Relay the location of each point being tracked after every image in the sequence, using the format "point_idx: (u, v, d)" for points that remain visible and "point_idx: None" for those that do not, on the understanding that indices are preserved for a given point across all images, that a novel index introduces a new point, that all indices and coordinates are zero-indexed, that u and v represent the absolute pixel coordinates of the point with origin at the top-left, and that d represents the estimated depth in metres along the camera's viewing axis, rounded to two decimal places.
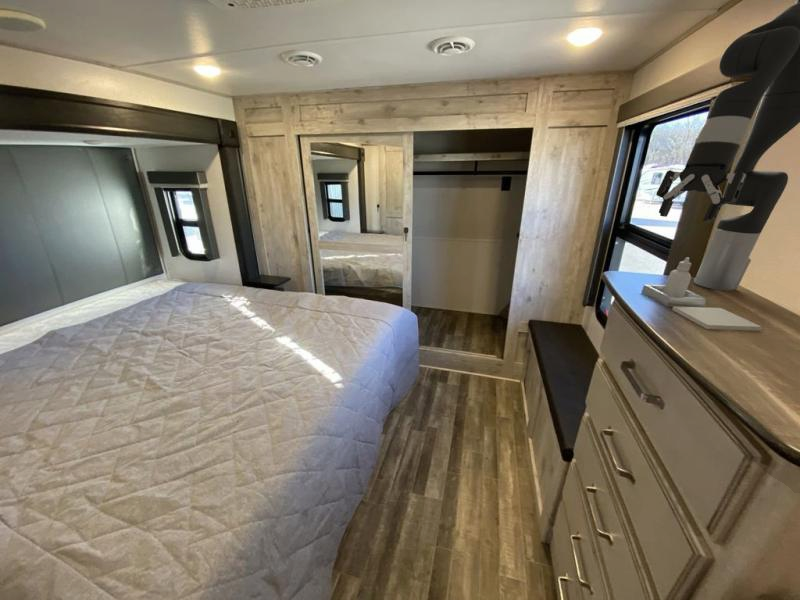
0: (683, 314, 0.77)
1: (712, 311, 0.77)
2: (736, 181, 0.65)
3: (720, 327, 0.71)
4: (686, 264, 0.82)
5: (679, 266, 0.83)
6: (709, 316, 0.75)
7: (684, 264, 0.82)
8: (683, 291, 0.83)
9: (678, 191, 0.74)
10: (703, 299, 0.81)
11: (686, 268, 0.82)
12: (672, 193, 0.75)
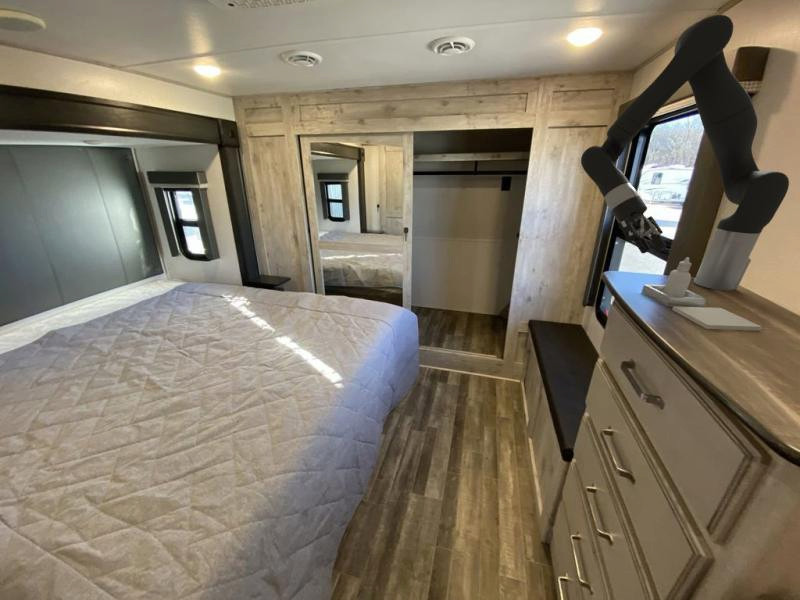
0: (683, 314, 0.77)
1: (712, 311, 0.77)
2: None
3: (720, 327, 0.71)
4: (686, 264, 0.82)
5: (679, 266, 0.83)
6: (709, 316, 0.75)
7: (684, 264, 0.82)
8: (683, 291, 0.83)
9: (645, 234, 0.92)
10: (703, 299, 0.81)
11: (686, 268, 0.82)
12: None
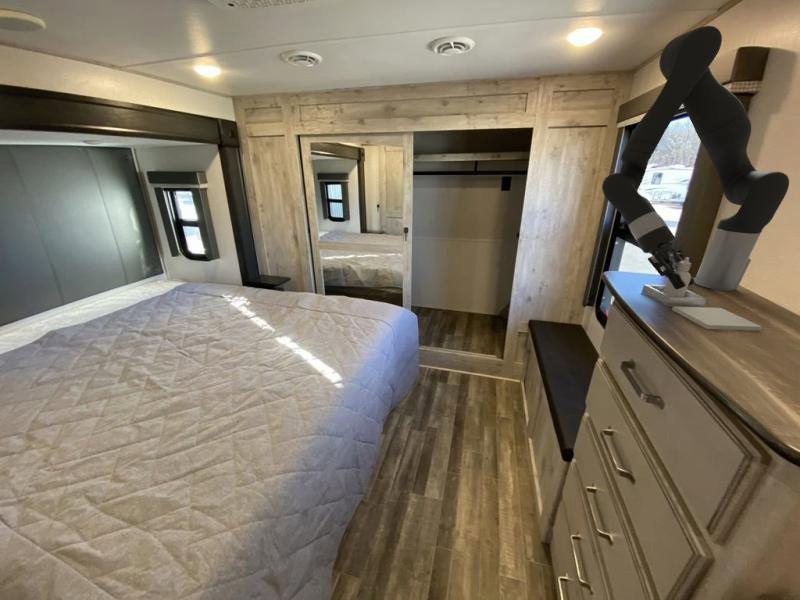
0: (683, 314, 0.77)
1: (712, 311, 0.77)
2: None
3: (720, 327, 0.71)
4: (686, 264, 0.82)
5: (679, 266, 0.83)
6: (709, 316, 0.75)
7: (684, 264, 0.82)
8: (683, 291, 0.83)
9: None
10: (703, 299, 0.81)
11: (686, 268, 0.82)
12: None
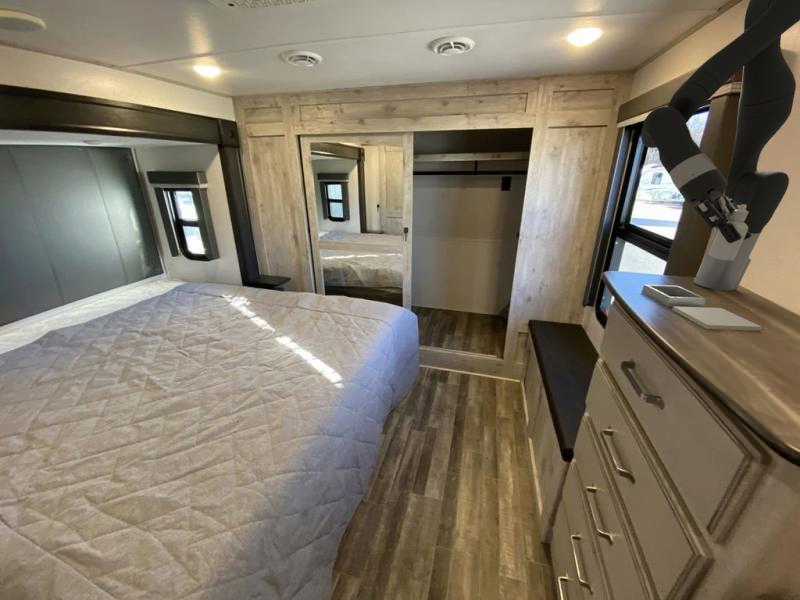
0: (683, 314, 0.77)
1: (712, 311, 0.77)
2: None
3: (720, 327, 0.71)
4: (742, 212, 0.68)
5: (733, 215, 0.70)
6: (709, 316, 0.75)
7: (740, 212, 0.69)
8: (737, 245, 0.69)
9: None
10: (703, 299, 0.81)
11: (742, 217, 0.69)
12: None
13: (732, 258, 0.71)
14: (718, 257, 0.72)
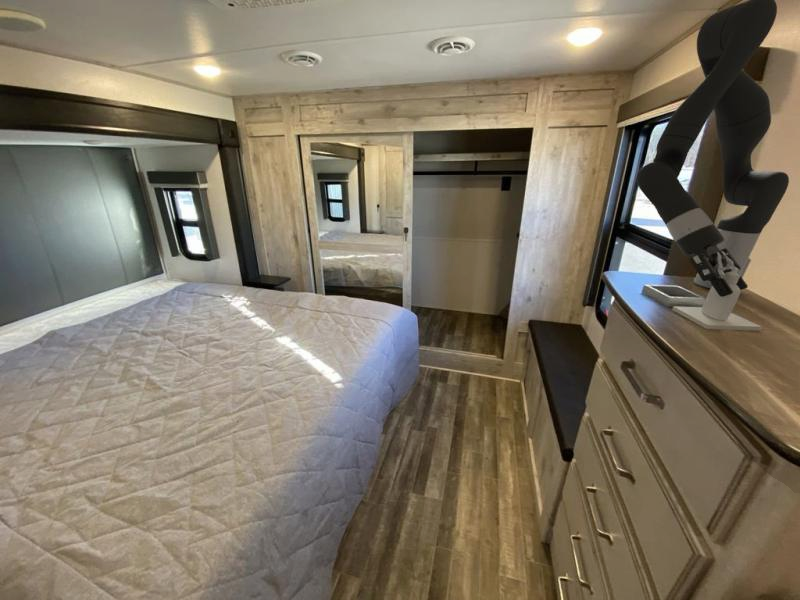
0: (683, 314, 0.77)
1: None
2: None
3: (720, 327, 0.71)
4: (735, 276, 0.70)
5: (725, 278, 0.71)
6: None
7: (732, 276, 0.70)
8: (731, 307, 0.71)
9: None
10: (703, 299, 0.81)
11: (734, 280, 0.70)
12: None
13: (725, 318, 0.72)
14: (712, 316, 0.74)
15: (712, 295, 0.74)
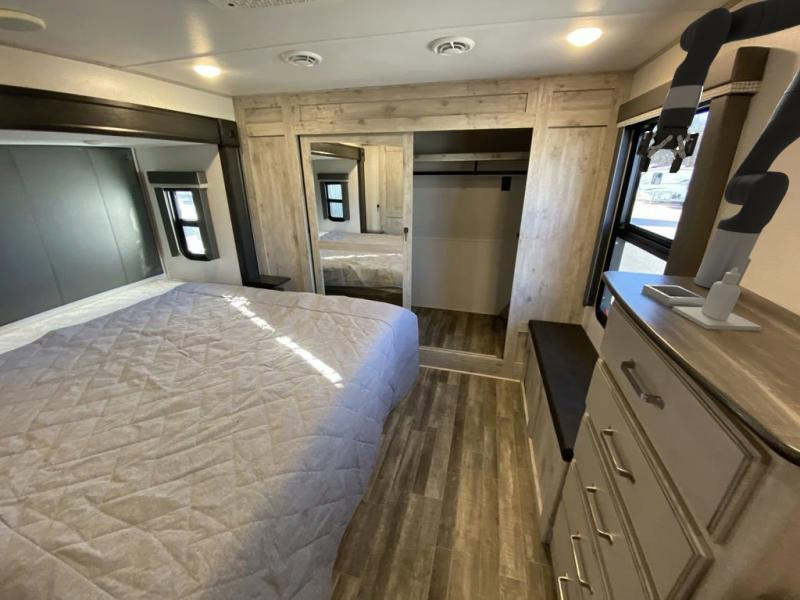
0: (683, 314, 0.77)
1: None
2: None
3: (720, 327, 0.71)
4: (735, 276, 0.70)
5: (725, 278, 0.71)
6: None
7: (732, 276, 0.70)
8: (731, 307, 0.71)
9: (673, 150, 0.90)
10: (703, 299, 0.81)
11: (734, 280, 0.70)
12: None
13: (725, 318, 0.72)
14: (712, 316, 0.74)
15: (712, 295, 0.74)
